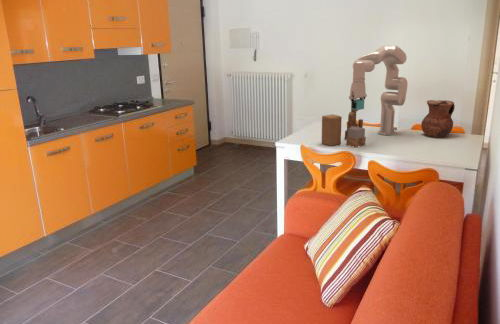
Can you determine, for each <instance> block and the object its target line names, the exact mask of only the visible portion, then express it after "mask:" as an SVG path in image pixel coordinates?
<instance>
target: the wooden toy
mask: <svg viewBox="0 0 500 324" xmlns="http://www.w3.org/2000/svg"><path fill="white" fill-rule="evenodd" d="M358 111H359V110H354V109H351V108H350V111H349V113H348V115H347V116H348V119H347V122H346V130H345V131H344V139H345V140H347V137H348V128H352V127H360V128H364V127H363V125H364V122H363V121H364V119H362V118H359V119H358V123H357V112H358Z"/></svg>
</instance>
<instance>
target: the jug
mask: <svg viewBox="0 0 500 324" xmlns="http://www.w3.org/2000/svg"><path fill="white" fill-rule="evenodd" d="M426 104H427V106H428V113H427V114H426V116H424V118H423V119H422V121H421V130H422V132H423V134H425V135H426V136H428V137H431V138H444V137H447V136H448V135H449V134H451V132H452V130H453V127H454V121H453V119H452V115H453V113H454V111H455V107H456V106H455V102H454V101H451V100H446V99H445V100H443V99H442V100H440V99H439V100H436V99H435V100H434V99H429V100H427V101H426Z"/></svg>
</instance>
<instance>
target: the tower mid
mask: <svg viewBox="0 0 500 324" xmlns="http://www.w3.org/2000/svg"><path fill="white" fill-rule="evenodd" d="M365 133H366V128H365V127H363V128H360V127H352V128H348V137H350V138H354V139H358V138H363V137H366V135H365Z"/></svg>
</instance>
